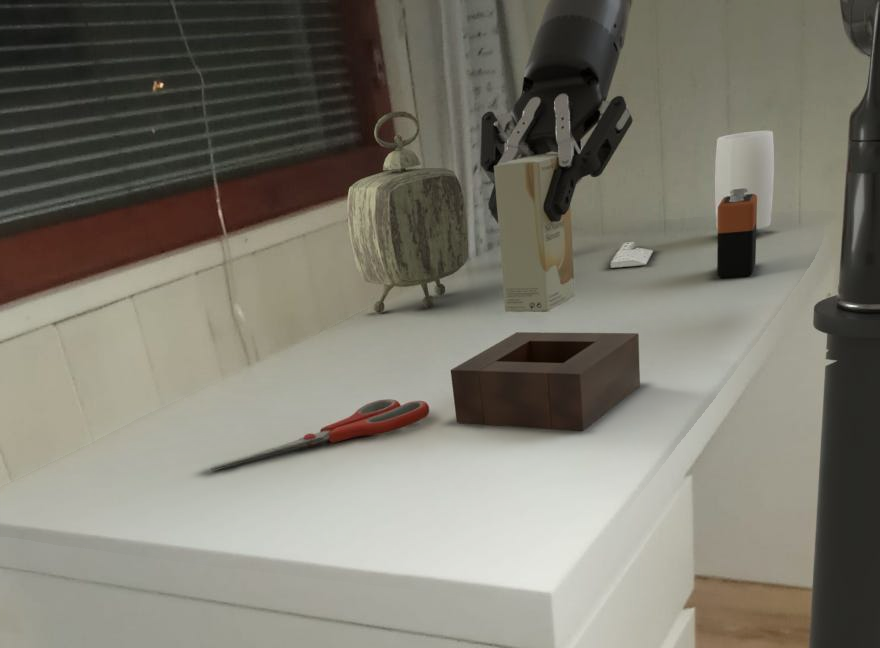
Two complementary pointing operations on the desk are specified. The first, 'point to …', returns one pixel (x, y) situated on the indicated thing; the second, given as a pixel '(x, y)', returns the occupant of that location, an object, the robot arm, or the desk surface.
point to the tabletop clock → (407, 222)
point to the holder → (547, 379)
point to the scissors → (355, 426)
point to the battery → (736, 234)
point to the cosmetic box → (532, 237)
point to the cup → (746, 170)
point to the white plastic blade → (630, 256)
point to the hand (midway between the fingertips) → (524, 216)
